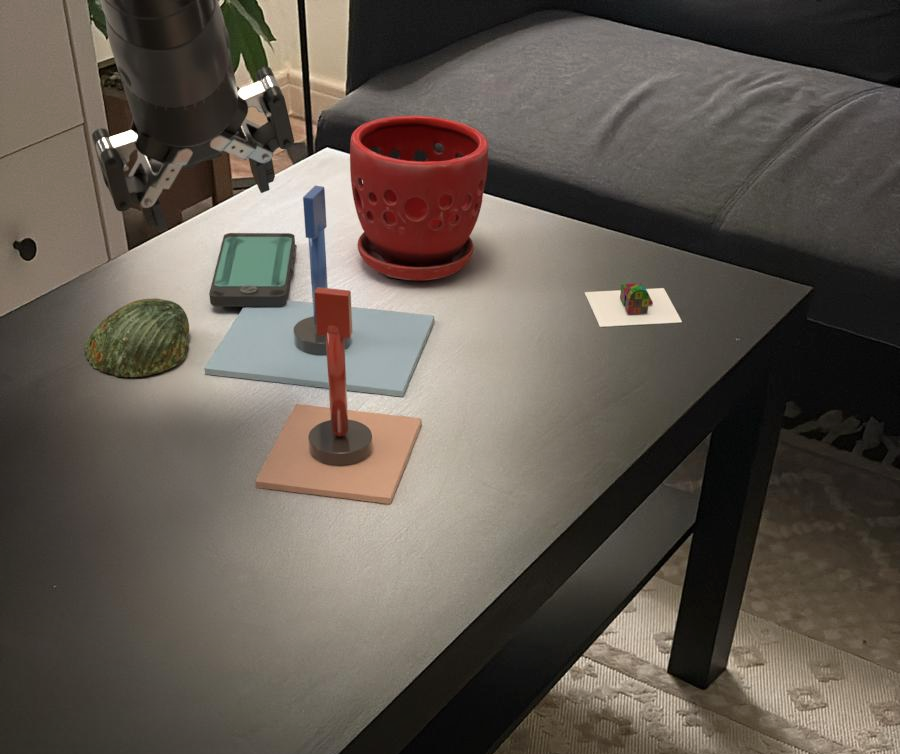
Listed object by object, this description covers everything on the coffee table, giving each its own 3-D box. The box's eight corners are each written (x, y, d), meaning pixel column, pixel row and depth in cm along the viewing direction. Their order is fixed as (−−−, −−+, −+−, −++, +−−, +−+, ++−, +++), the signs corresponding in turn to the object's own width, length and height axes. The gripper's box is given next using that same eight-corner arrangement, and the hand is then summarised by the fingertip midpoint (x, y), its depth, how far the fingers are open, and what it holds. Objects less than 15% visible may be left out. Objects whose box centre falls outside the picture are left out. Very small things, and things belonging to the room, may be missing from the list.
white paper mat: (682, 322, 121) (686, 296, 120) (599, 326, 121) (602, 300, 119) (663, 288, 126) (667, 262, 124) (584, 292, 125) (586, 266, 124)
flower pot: (457, 301, 124) (459, 172, 115) (333, 277, 127) (326, 149, 118) (501, 246, 132) (507, 122, 123) (384, 224, 135) (381, 102, 126)
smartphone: (208, 294, 120) (224, 230, 130) (209, 307, 121) (225, 243, 131) (287, 294, 120) (296, 231, 131) (288, 307, 121) (297, 243, 132)
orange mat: (255, 487, 102) (254, 481, 101) (296, 409, 110) (295, 403, 109) (390, 504, 101) (390, 498, 100) (421, 424, 109) (421, 418, 108)
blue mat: (204, 374, 114) (204, 368, 113) (250, 301, 123) (250, 295, 123) (402, 397, 112) (402, 390, 111) (434, 321, 121) (434, 315, 120)
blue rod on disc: (338, 359, 115) (330, 208, 105) (285, 349, 116) (272, 199, 106) (360, 333, 118) (354, 184, 108) (308, 323, 119) (297, 175, 109)
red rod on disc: (301, 462, 103) (288, 303, 94) (318, 428, 107) (307, 271, 97) (364, 469, 103) (358, 310, 93) (379, 435, 106) (374, 278, 96)
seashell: (59, 297, 114) (162, 270, 118) (67, 339, 117) (167, 311, 121) (107, 353, 109) (213, 323, 113) (114, 395, 112) (216, 364, 116)
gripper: (250, -32, 85) (275, 129, 101) (49, 42, 84) (107, 193, 100) (294, 63, 85) (312, 210, 101) (92, 138, 83) (143, 275, 99)
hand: (210, 201), depth 100 cm, fingers open, 8 cm apart
